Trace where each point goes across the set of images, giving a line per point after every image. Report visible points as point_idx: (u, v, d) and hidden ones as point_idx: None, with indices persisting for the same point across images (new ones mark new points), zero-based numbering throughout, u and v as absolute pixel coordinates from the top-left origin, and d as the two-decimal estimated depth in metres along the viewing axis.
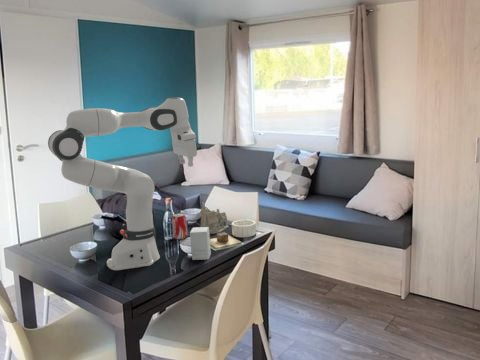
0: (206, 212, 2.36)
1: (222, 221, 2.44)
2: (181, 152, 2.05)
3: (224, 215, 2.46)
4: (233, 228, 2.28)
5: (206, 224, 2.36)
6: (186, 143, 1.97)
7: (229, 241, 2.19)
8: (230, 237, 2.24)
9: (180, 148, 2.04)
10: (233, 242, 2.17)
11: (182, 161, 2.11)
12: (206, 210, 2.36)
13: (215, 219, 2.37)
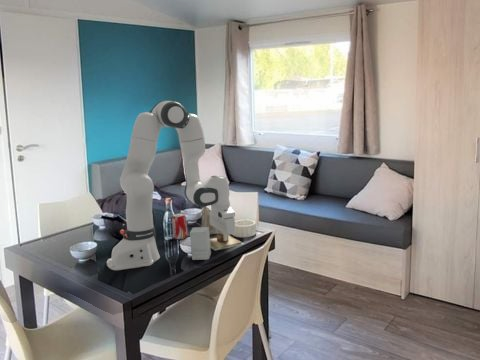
0: (207, 212, 2.36)
1: None
2: (218, 227, 2.17)
3: None
4: None
5: (207, 224, 2.36)
6: (226, 221, 2.09)
7: (229, 241, 2.19)
8: (230, 237, 2.24)
9: (219, 223, 2.16)
10: (233, 242, 2.17)
11: None
12: (207, 210, 2.35)
13: None
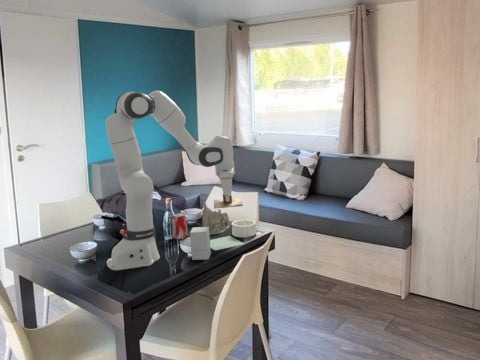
0: (208, 213, 2.35)
1: (224, 221, 2.43)
2: None
3: (226, 215, 2.45)
4: (233, 228, 2.28)
5: (208, 225, 2.35)
6: (222, 181, 2.08)
7: (232, 202, 2.18)
8: (238, 200, 2.22)
9: None
10: (235, 204, 2.16)
11: None
12: (208, 211, 2.35)
13: (217, 220, 2.36)
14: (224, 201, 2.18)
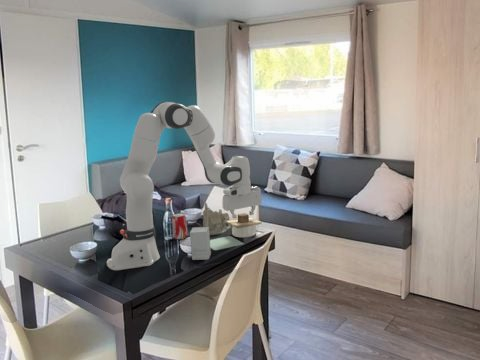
0: (209, 213, 2.35)
1: (225, 222, 2.42)
2: None
3: (227, 216, 2.45)
4: (233, 228, 2.28)
5: (209, 225, 2.35)
6: (223, 197, 2.25)
7: (241, 223, 2.27)
8: (252, 223, 2.27)
9: None
10: (237, 224, 2.25)
11: (249, 212, 2.32)
12: (209, 211, 2.35)
13: (218, 220, 2.35)
14: (238, 219, 2.31)
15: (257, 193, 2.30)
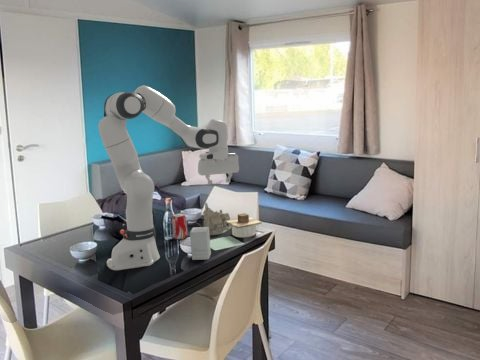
0: (210, 213, 2.34)
1: (225, 222, 2.42)
2: None
3: (227, 216, 2.44)
4: (233, 228, 2.28)
5: (210, 225, 2.34)
6: (199, 161, 2.19)
7: (241, 223, 2.27)
8: (252, 223, 2.27)
9: None
10: (237, 224, 2.25)
11: (226, 179, 2.25)
12: (210, 211, 2.34)
13: (219, 220, 2.35)
14: (238, 219, 2.31)
15: (234, 160, 2.23)
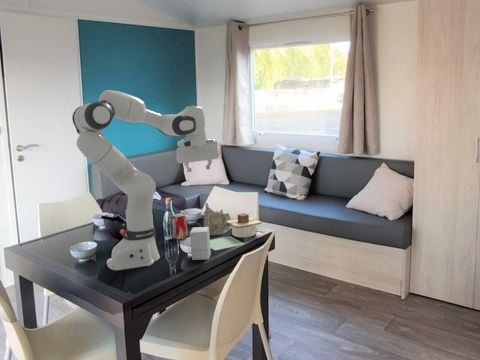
0: (210, 213, 2.34)
1: None
2: None
3: (228, 216, 2.44)
4: (233, 228, 2.28)
5: (210, 225, 2.34)
6: (177, 149, 2.15)
7: (241, 223, 2.27)
8: (252, 223, 2.27)
9: None
10: (237, 224, 2.25)
11: (206, 166, 2.22)
12: (210, 211, 2.34)
13: (219, 220, 2.34)
14: (238, 219, 2.31)
15: (213, 146, 2.20)
